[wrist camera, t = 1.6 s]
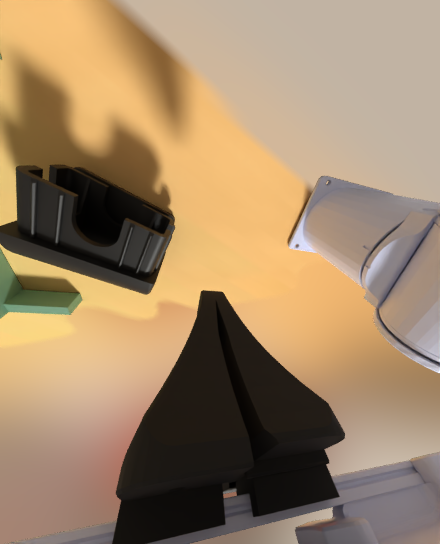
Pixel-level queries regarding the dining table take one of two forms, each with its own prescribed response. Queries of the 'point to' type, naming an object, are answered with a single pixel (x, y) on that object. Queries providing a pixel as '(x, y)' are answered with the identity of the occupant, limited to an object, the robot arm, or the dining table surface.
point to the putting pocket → (31, 295)
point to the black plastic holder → (88, 227)
